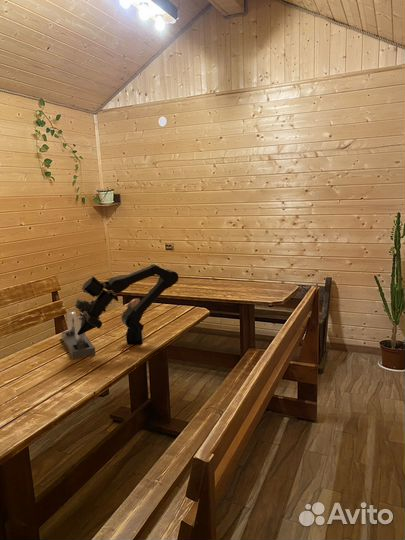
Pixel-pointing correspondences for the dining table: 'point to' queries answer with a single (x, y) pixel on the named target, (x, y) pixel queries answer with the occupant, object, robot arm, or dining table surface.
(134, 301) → the tin
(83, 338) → the cylinder
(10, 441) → the dining table surface
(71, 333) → the billet
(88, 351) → the twin nest fixture
